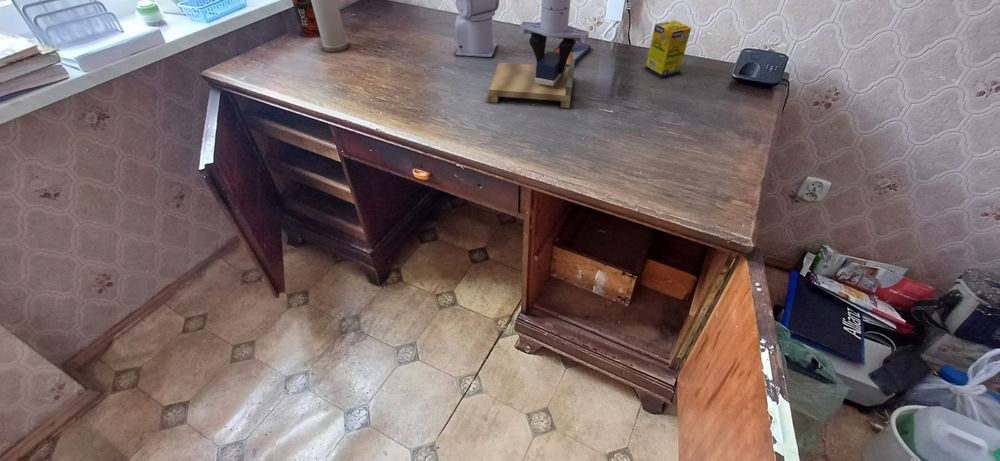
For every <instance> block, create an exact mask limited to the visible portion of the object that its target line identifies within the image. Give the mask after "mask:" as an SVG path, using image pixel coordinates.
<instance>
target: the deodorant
mask: <svg viewBox="0 0 1000 461" xmlns="http://www.w3.org/2000/svg"><path fill="white" fill-rule="evenodd" d="M291 2H292V6H293V9H294V12H295V16H296V19H297V22H298V23H297V24H298V25H299V29H300V32H301V35H302V36H303V37H306V38H314V37H319V36H320V32H319V28H318V24H317V20H316V17H315V13H314V9H313V5H312V2H311V0H291Z"/></svg>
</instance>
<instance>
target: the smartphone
mask: <svg viewBox="0 0 1000 461" xmlns="http://www.w3.org/2000/svg"><path fill="white" fill-rule="evenodd" d="M590 50H591V45H590V44H587V43H586V44H582V43H581V42H578V41H576V43H575V44H574V46H573V48H572V50H571V52H570V54H569V56H568V58H567V61H566V65H567V66H566V67H569V62H570V59H575V64H576V63H577V62H579V60H580V59H582V57H584V56H585V55H586V54H587V53H588V52H589V51H590ZM552 52H557V53H559V46H557V47H556V48H555V49H554V50H552Z"/></svg>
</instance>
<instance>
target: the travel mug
mask: <svg viewBox="0 0 1000 461" xmlns="http://www.w3.org/2000/svg"><path fill="white" fill-rule="evenodd" d="M311 2H312V5H313V9H314V13H315V17H316V20H317V24H318V28H319V32H320V35H319V36H320V40H321V43H322V46H323V50H324V51H326V52H329V53H338V52H342V51H345V50H347V48H348V47H349V46H348V45H349V44H348V40H347V36H346V32H345V27H344V23H343V19H342V15H341V11H340V6H339V2H338V0H311Z"/></svg>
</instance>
